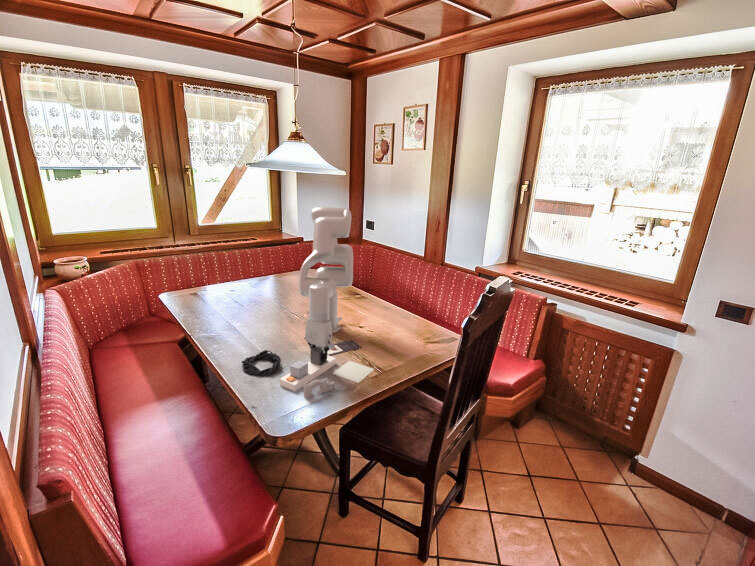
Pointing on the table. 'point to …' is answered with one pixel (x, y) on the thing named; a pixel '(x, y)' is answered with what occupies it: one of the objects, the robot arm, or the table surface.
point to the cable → (271, 356)
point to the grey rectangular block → (316, 356)
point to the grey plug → (299, 369)
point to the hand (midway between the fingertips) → (319, 358)
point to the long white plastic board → (312, 373)
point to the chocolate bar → (343, 347)
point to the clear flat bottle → (323, 387)
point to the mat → (353, 371)
